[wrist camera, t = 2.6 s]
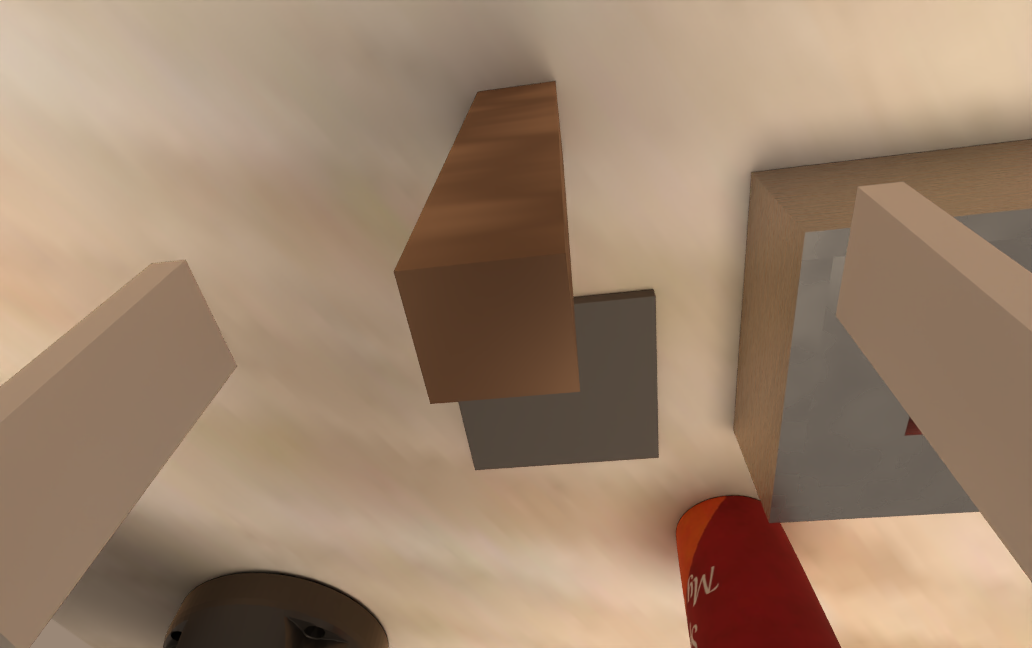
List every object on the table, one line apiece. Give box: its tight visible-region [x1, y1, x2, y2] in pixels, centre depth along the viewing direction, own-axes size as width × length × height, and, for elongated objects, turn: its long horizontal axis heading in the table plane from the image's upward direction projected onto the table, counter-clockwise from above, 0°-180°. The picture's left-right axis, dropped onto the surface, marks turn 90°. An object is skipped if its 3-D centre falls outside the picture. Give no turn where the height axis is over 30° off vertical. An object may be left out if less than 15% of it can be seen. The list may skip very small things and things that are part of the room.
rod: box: [394, 81, 580, 404], centre depth 17 cm, size 3×3×15 cm
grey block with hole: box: [734, 139, 1032, 523], centre depth 25 cm, size 14×14×6 cm
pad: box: [459, 290, 659, 470], centre depth 30 cm, size 10×10×1 cm
